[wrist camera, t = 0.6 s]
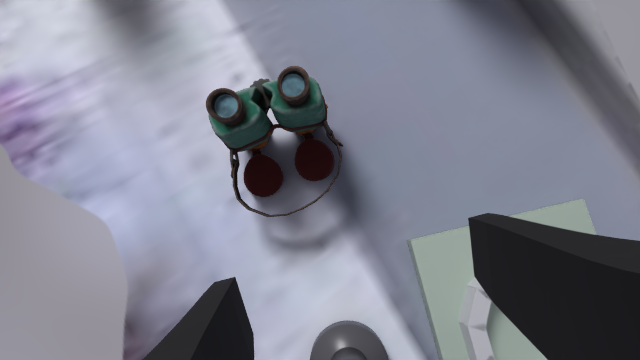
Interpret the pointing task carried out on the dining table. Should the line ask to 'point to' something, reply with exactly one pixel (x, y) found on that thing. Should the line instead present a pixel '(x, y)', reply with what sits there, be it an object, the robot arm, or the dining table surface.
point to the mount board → (458, 269)
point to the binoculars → (255, 128)
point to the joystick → (348, 343)
